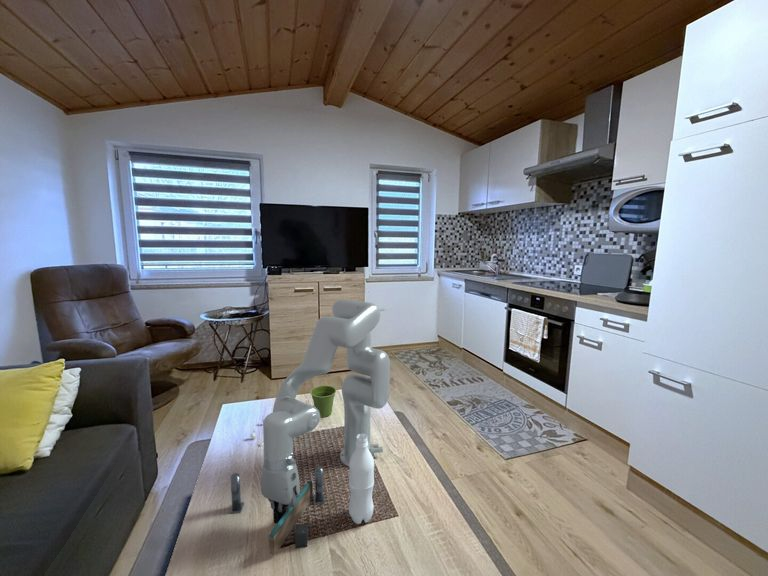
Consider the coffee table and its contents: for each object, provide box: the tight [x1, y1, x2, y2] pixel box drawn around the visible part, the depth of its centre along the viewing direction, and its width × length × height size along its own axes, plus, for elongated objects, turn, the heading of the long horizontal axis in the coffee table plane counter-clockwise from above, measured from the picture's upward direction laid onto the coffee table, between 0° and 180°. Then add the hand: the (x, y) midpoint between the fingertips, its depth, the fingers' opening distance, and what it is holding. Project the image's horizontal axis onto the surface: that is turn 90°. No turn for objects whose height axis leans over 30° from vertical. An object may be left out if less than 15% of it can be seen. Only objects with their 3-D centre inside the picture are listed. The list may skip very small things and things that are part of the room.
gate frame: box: [228, 465, 326, 549], centre depth 91 cm, size 27×17×11 cm, turn 99°
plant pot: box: [309, 384, 337, 418], centre depth 150 cm, size 12×12×11 cm
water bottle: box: [348, 434, 375, 525], centre depth 93 cm, size 7×7×25 cm
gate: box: [268, 479, 314, 556], centre depth 90 cm, size 20×2×6 cm, turn 164°
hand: (279, 519), depth 90 cm, fingers closed
